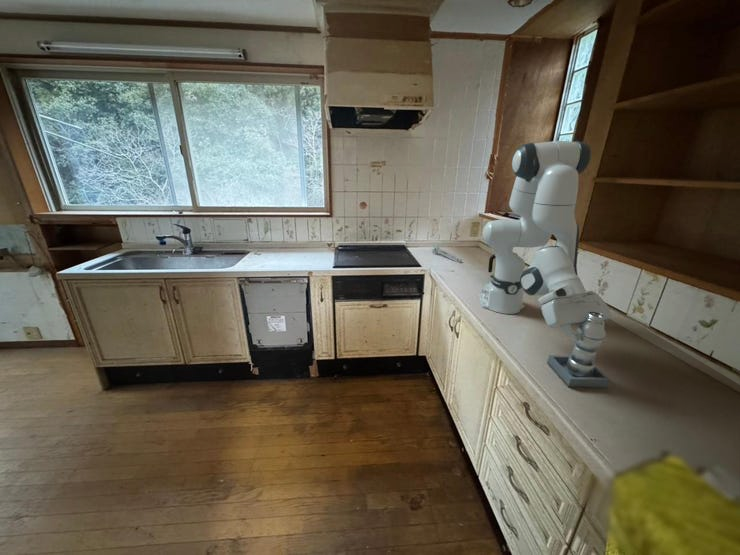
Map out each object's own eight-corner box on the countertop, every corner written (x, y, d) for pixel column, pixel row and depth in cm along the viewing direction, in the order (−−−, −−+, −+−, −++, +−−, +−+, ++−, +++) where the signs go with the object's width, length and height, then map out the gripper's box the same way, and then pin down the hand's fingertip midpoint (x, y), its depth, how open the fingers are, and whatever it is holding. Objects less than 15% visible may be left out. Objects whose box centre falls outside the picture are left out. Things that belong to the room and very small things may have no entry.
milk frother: (509, 276, 170) (514, 251, 165) (519, 286, 155) (524, 259, 150) (484, 274, 171) (488, 250, 166) (491, 284, 157) (496, 258, 152)
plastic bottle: (580, 366, 91) (598, 308, 84) (596, 381, 85) (617, 320, 78) (560, 366, 91) (576, 308, 84) (574, 381, 85) (593, 320, 78)
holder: (546, 363, 93) (549, 355, 92) (582, 363, 93) (584, 355, 92) (568, 387, 83) (570, 378, 82) (607, 388, 83) (610, 379, 82)
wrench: (458, 267, 194) (428, 251, 217) (460, 266, 195) (430, 251, 217) (460, 256, 190) (430, 241, 213) (462, 255, 191) (432, 241, 214)
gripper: (587, 294, 94) (608, 336, 88) (533, 300, 89) (551, 345, 84) (604, 286, 88) (628, 331, 83) (547, 292, 83) (568, 340, 78)
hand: (589, 338), depth 83 cm, fingers open, 8 cm apart
